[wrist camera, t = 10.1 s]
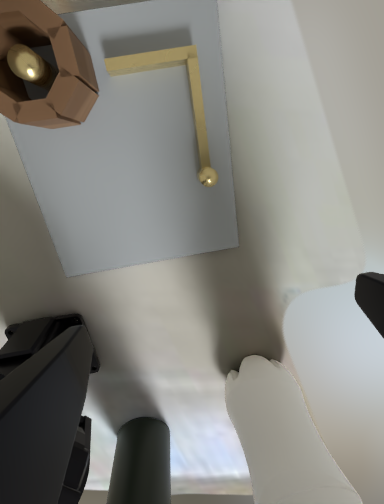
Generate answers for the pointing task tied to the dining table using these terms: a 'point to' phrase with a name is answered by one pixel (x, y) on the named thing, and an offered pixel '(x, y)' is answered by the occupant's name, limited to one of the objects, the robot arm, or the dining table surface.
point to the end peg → (31, 66)
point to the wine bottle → (141, 464)
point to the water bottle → (282, 438)
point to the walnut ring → (68, 60)
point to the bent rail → (190, 59)
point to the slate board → (135, 145)
